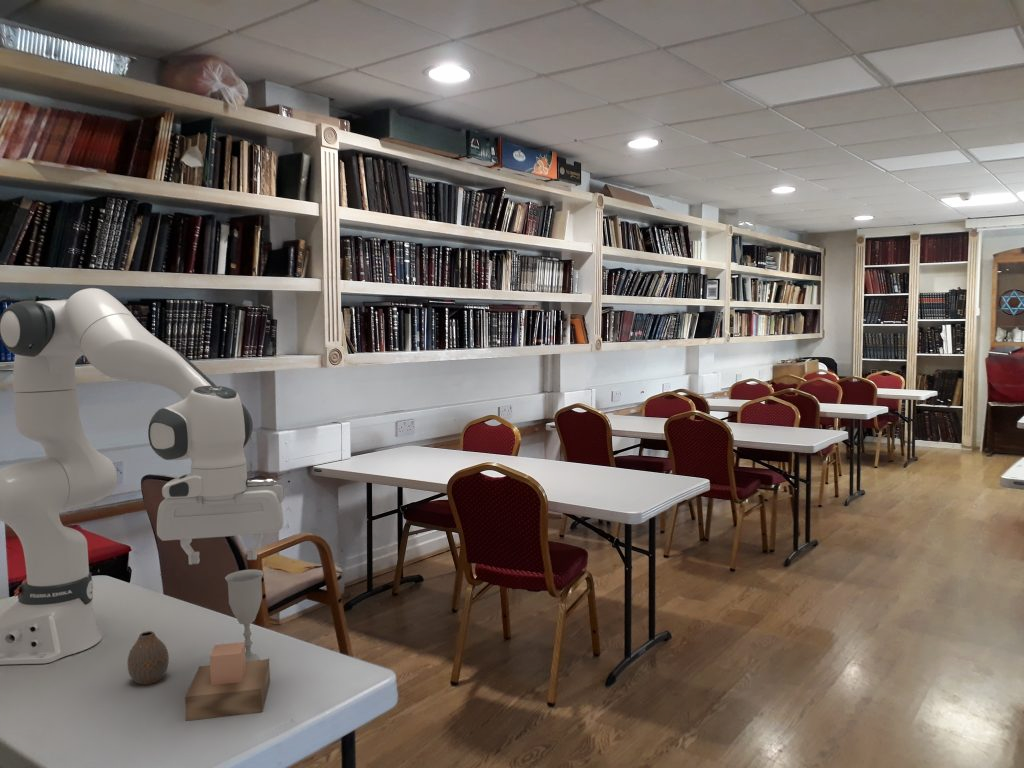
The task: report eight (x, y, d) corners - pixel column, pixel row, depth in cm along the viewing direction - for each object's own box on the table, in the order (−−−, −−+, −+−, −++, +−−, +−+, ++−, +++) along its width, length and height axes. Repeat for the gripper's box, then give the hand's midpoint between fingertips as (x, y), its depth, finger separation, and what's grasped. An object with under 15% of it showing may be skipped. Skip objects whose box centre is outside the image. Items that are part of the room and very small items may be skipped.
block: (211, 685, 131) (209, 656, 130) (216, 672, 136) (214, 644, 135) (242, 681, 132) (240, 653, 131) (246, 669, 137) (244, 641, 136)
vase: (143, 691, 138) (140, 643, 137) (120, 683, 142) (117, 636, 141) (177, 676, 144) (175, 630, 143) (155, 668, 147) (152, 623, 147)
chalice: (255, 678, 142) (250, 582, 141) (221, 675, 144) (217, 580, 142) (275, 661, 149) (270, 570, 148) (243, 659, 151) (238, 568, 150)
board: (186, 720, 127) (185, 697, 127) (200, 688, 139) (199, 666, 138) (262, 711, 129) (261, 688, 129) (270, 680, 141) (269, 659, 141)
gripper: (284, 474, 137) (287, 551, 138) (161, 481, 133) (165, 560, 134) (281, 481, 130) (284, 561, 131) (151, 488, 126) (156, 571, 127)
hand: (223, 561), depth 132 cm, fingers open, 8 cm apart
